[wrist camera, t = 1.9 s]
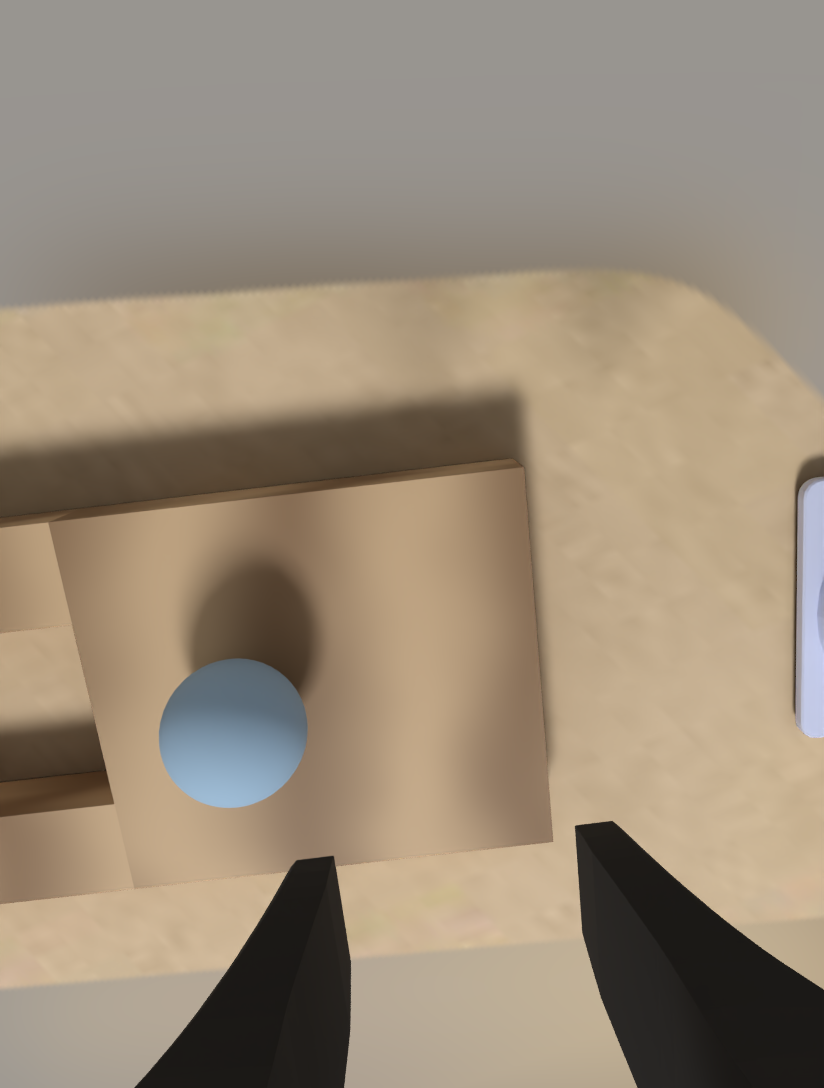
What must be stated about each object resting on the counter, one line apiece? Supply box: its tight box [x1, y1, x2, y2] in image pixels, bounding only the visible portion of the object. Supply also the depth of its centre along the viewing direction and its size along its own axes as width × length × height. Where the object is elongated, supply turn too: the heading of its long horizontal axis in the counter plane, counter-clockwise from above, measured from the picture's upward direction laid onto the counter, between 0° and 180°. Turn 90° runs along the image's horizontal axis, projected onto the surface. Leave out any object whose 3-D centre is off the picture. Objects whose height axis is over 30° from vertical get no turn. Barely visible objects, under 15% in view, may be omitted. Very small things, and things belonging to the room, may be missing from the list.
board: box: [0, 458, 553, 904], centre depth 20 cm, size 22×11×4 cm, turn 96°
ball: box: [159, 658, 308, 808], centre depth 18 cm, size 4×4×4 cm
